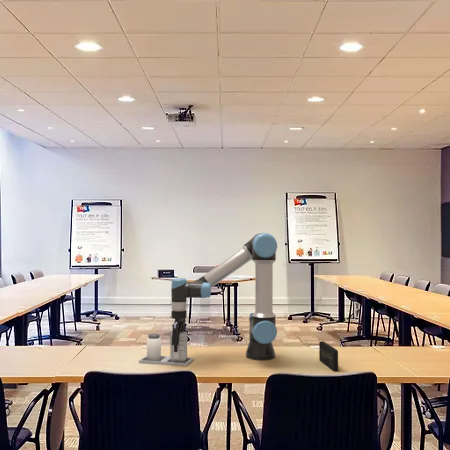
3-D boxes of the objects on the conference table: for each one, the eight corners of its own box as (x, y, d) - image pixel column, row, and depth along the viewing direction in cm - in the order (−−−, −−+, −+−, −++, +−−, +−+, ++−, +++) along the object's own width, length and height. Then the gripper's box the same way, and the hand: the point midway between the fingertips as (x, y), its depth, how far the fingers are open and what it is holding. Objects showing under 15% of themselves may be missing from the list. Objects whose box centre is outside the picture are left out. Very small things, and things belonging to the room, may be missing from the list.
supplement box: (172, 356, 255) (173, 331, 255) (187, 357, 254) (187, 331, 254) (169, 360, 248) (169, 334, 248) (184, 360, 247) (184, 334, 247)
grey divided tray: (193, 362, 255) (193, 357, 255) (186, 368, 244) (186, 363, 244) (147, 359, 261) (147, 355, 261) (138, 365, 249) (138, 360, 249)
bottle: (162, 359, 256) (163, 333, 257) (158, 362, 250) (158, 336, 250) (149, 358, 258) (149, 332, 258) (144, 362, 251) (144, 335, 251)
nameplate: (338, 371, 239) (338, 350, 239) (334, 372, 238) (334, 350, 238) (322, 360, 259) (322, 340, 259) (319, 360, 259) (319, 341, 259)
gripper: (178, 306, 262) (178, 351, 262) (164, 313, 242) (164, 361, 242) (192, 307, 260) (192, 351, 260) (179, 313, 240) (179, 362, 240)
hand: (178, 356), depth 251 cm, fingers closed on supplement box, 8 cm apart
